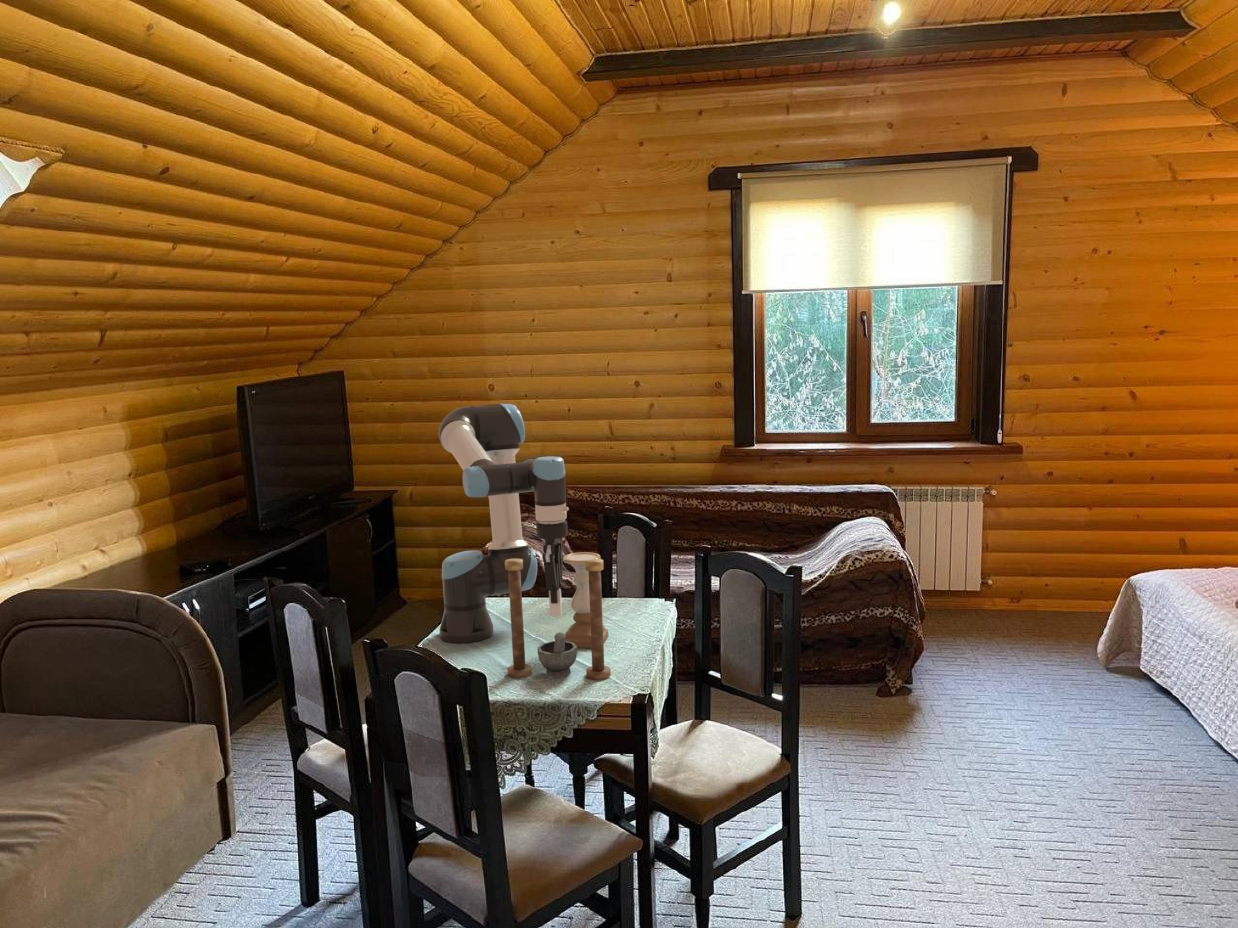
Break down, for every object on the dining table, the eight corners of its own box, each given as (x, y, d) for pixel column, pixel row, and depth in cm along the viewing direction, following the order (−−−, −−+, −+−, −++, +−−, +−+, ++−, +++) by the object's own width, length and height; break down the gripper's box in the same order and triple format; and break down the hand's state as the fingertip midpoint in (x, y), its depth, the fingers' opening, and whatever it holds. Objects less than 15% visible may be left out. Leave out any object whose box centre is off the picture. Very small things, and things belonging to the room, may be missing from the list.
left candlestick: (504, 677, 231) (498, 563, 227) (511, 669, 237) (505, 557, 233) (528, 678, 230) (522, 563, 226) (534, 669, 236) (528, 557, 232)
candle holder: (600, 648, 250) (596, 561, 246) (560, 647, 252) (556, 561, 248) (609, 635, 260) (605, 551, 257) (571, 634, 262) (567, 551, 259)
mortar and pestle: (536, 669, 236) (534, 623, 234) (572, 664, 238) (570, 619, 237) (544, 685, 225) (541, 637, 224) (582, 680, 228) (580, 632, 226)
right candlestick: (584, 679, 228) (579, 563, 224) (588, 670, 234) (584, 557, 230) (608, 680, 227) (604, 564, 223) (612, 671, 233) (608, 557, 229)
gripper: (561, 526, 219) (565, 623, 223) (572, 515, 232) (576, 606, 235) (530, 526, 220) (534, 622, 224) (542, 515, 233) (547, 606, 237)
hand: (556, 614), depth 230 cm, fingers closed
